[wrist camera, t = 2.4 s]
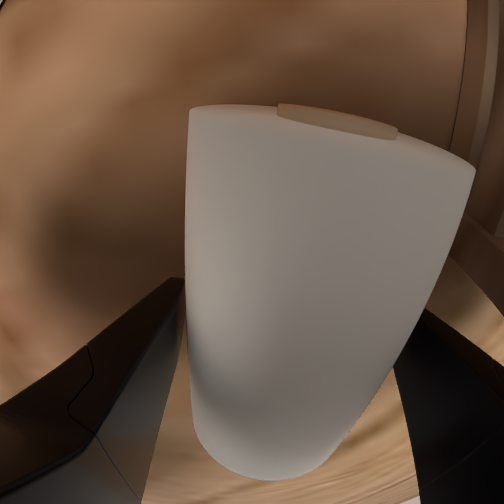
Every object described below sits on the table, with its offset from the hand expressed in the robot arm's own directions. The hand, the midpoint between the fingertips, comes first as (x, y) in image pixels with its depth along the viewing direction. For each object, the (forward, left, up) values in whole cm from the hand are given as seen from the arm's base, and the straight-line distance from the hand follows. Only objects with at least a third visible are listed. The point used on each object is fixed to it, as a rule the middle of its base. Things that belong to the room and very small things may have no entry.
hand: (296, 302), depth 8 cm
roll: (0, 0, +1) cm, 1 cm away
